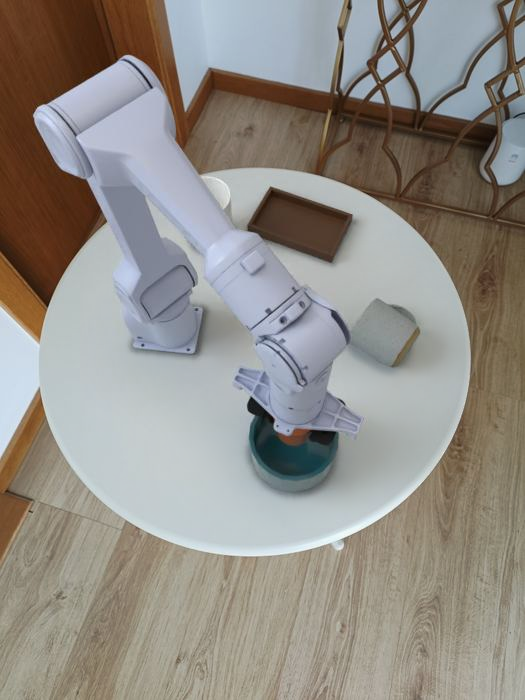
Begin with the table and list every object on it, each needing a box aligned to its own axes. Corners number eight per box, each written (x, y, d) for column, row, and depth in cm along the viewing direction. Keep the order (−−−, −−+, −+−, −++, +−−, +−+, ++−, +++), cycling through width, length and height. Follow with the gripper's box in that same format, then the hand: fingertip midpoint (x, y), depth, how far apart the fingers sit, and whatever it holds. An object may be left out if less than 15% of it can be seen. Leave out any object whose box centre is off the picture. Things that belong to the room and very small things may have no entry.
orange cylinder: (270, 446, 66) (270, 432, 60) (275, 406, 68) (275, 389, 62) (313, 451, 65) (316, 437, 60) (316, 411, 67) (320, 394, 62)
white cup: (240, 222, 91) (236, 180, 82) (228, 259, 88) (223, 220, 79) (196, 214, 92) (187, 172, 83) (182, 251, 89) (172, 211, 80)
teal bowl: (246, 487, 72) (243, 474, 65) (257, 408, 77) (255, 389, 70) (329, 497, 71) (335, 485, 64) (335, 417, 76) (341, 398, 69)
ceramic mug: (391, 378, 78) (403, 356, 71) (343, 349, 80) (350, 324, 73) (426, 327, 82) (440, 300, 75) (380, 300, 84) (389, 272, 77)
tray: (247, 232, 90) (246, 225, 88) (270, 194, 94) (270, 186, 92) (331, 263, 87) (332, 256, 85) (351, 222, 91) (353, 214, 89)
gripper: (214, 389, 53) (226, 429, 65) (352, 449, 50) (337, 480, 62) (245, 331, 56) (251, 380, 68) (378, 385, 53) (358, 426, 65)
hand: (294, 425), depth 65 cm, fingers closed on orange cylinder, 5 cm apart
